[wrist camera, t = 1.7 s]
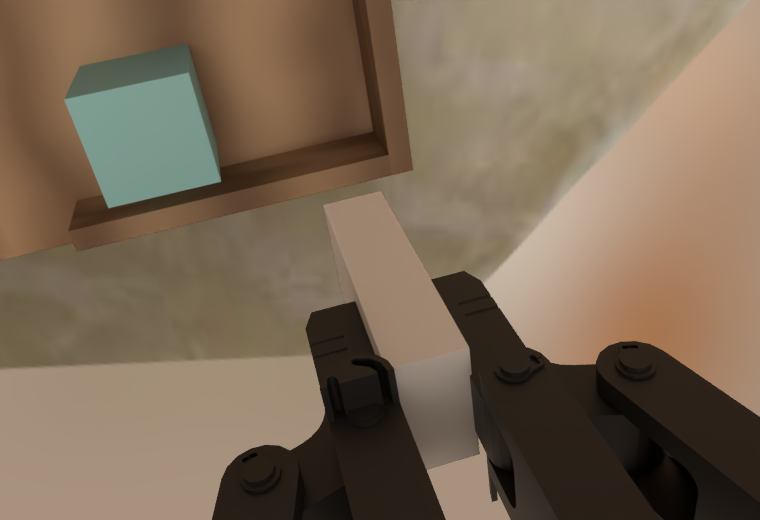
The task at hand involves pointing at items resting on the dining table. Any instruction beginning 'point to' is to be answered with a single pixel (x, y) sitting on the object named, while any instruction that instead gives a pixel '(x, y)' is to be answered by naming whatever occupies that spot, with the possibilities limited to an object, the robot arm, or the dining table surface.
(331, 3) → the tray
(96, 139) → the teal block
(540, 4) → the dining table surface
